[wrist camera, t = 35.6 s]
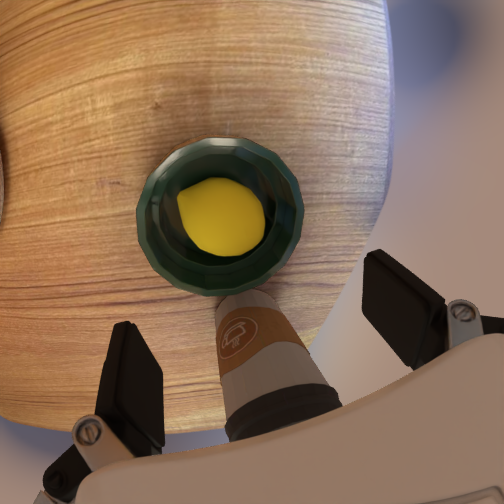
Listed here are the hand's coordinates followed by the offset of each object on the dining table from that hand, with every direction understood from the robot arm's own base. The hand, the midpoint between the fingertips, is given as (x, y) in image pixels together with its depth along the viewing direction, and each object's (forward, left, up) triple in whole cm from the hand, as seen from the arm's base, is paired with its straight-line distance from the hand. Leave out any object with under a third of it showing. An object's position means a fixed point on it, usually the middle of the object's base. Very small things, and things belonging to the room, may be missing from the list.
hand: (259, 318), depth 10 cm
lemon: (0, 0, -14) cm, 14 cm away
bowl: (0, 0, -14) cm, 14 cm away
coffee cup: (-10, +5, -14) cm, 18 cm away
